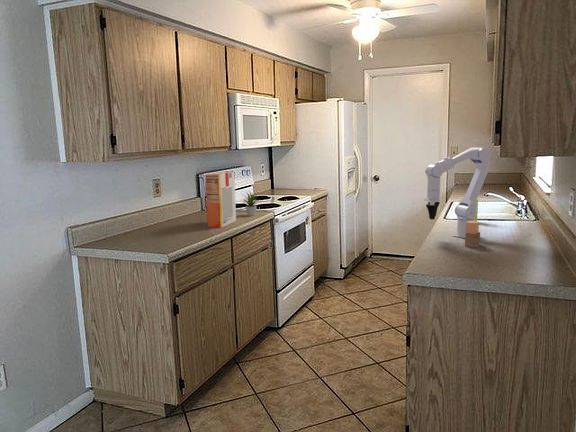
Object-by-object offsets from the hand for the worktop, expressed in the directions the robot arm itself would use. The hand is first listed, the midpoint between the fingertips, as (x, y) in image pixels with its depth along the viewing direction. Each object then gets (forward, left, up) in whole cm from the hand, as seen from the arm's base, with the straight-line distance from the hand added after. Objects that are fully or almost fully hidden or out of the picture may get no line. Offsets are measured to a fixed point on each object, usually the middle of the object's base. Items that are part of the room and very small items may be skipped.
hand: (432, 218), depth 232 cm
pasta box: (+60, -104, -11) cm, 121 cm away
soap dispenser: (-52, -14, -11) cm, 55 cm away
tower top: (-4, +20, -8) cm, 22 cm away
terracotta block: (-4, +19, -5) cm, 20 cm away
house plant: (+31, -117, -11) cm, 122 cm away
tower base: (-4, +20, -11) cm, 23 cm away
